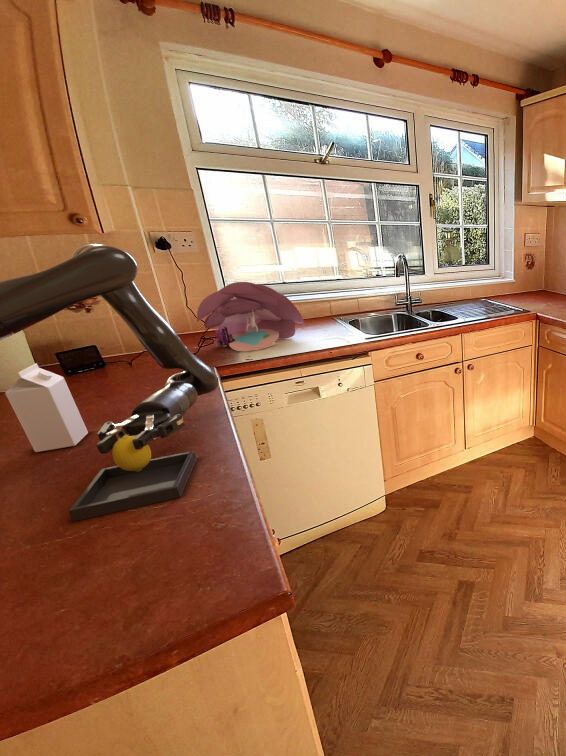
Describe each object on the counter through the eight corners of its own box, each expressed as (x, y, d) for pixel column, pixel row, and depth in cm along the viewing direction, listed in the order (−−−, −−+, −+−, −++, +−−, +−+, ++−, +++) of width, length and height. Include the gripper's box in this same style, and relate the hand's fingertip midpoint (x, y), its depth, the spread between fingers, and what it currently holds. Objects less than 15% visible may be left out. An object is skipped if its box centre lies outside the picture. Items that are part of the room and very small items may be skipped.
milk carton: (35, 453, 96) (-5, 375, 89) (51, 439, 102) (15, 365, 95) (75, 446, 99) (40, 370, 92) (88, 433, 105) (56, 361, 98)
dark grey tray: (73, 521, 74) (68, 510, 73) (105, 478, 86) (101, 468, 86) (180, 497, 80) (176, 487, 79) (196, 459, 92) (193, 450, 92)
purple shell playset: (218, 369, 162) (190, 301, 146) (205, 345, 176) (177, 280, 161) (311, 342, 182) (294, 279, 166) (292, 323, 196) (275, 263, 180)
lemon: (118, 482, 80) (102, 446, 77) (124, 468, 85) (109, 433, 82) (154, 473, 83) (141, 437, 80) (158, 460, 87) (145, 426, 84)
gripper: (118, 397, 91) (64, 434, 76) (194, 390, 94) (156, 424, 79) (130, 428, 94) (80, 470, 79) (204, 420, 97) (169, 458, 82)
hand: (119, 447), depth 79 cm, fingers closed on lemon, 5 cm apart
